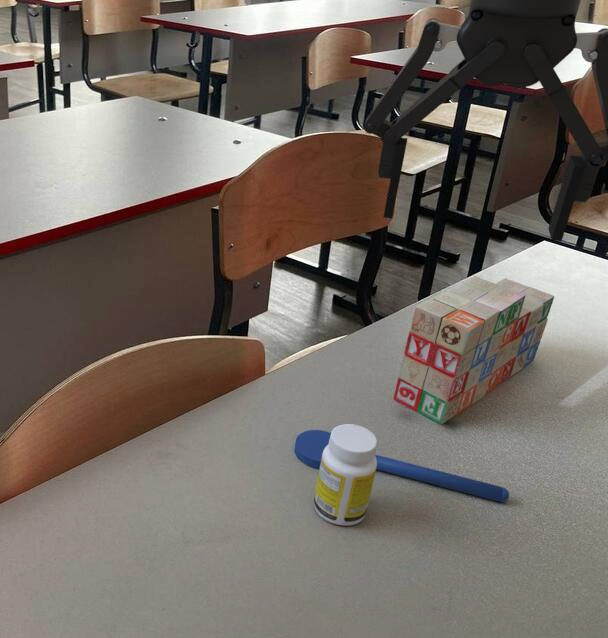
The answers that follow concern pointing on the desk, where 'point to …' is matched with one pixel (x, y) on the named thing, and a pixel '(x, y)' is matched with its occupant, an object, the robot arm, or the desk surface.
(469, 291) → the stack of blocks
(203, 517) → the desk surface
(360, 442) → the supplement bottle
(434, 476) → the spoon
